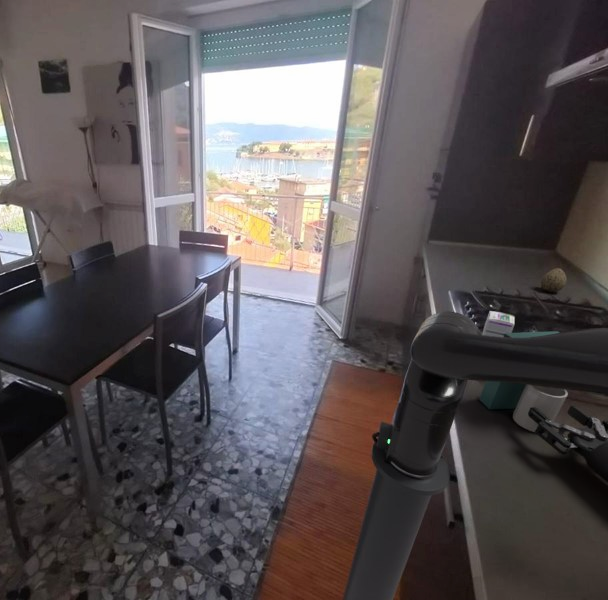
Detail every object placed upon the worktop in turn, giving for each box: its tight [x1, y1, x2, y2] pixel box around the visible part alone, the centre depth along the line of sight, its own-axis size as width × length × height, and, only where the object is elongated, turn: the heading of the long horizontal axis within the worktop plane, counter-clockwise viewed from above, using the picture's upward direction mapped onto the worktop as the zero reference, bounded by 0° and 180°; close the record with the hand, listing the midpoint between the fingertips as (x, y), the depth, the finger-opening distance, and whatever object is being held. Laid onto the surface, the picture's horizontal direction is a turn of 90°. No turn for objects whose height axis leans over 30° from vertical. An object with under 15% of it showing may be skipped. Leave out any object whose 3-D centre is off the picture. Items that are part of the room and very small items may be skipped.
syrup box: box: [481, 310, 516, 337], centre depth 98 cm, size 6×6×14 cm
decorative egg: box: [540, 267, 567, 293], centre depth 140 cm, size 7×7×10 cm
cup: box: [512, 384, 569, 433], centre depth 78 cm, size 6×6×10 cm
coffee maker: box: [478, 330, 561, 410], centre depth 79 cm, size 10×12×19 cm
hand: (550, 409), depth 76 cm, fingers open, 8 cm apart
